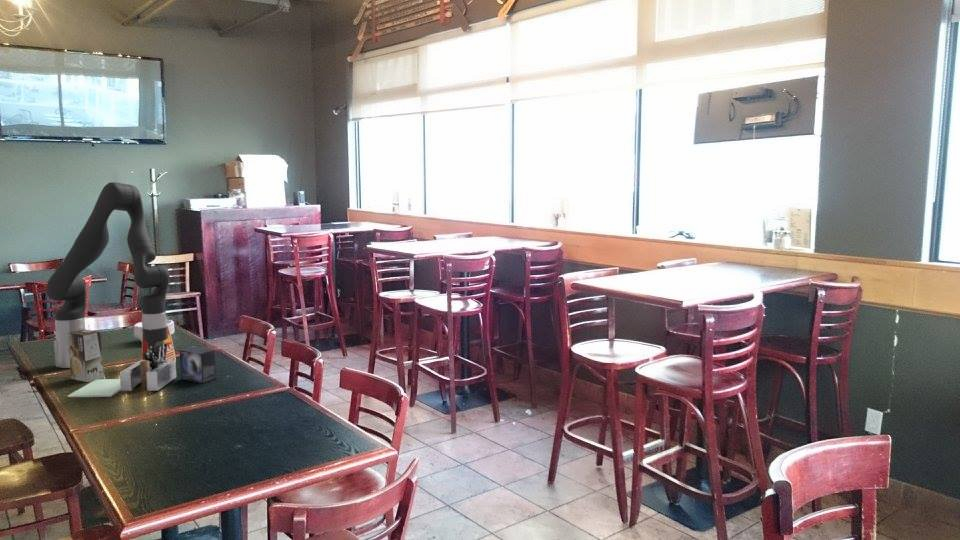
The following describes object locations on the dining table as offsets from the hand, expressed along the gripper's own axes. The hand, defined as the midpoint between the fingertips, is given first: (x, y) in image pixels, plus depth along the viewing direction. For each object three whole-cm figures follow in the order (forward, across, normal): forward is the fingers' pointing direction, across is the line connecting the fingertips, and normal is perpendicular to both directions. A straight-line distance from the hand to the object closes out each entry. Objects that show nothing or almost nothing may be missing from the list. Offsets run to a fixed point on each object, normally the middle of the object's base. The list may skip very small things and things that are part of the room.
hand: (157, 376), depth 234 cm
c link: (+1, +6, 0) cm, 6 cm away
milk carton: (+2, -21, -9) cm, 23 cm away
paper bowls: (+2, -58, -25) cm, 64 cm away
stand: (+1, +10, 0) cm, 10 cm away
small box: (+2, 0, +13) cm, 13 cm away
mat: (+1, +9, -14) cm, 16 cm away
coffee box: (+2, -3, -25) cm, 25 cm away
